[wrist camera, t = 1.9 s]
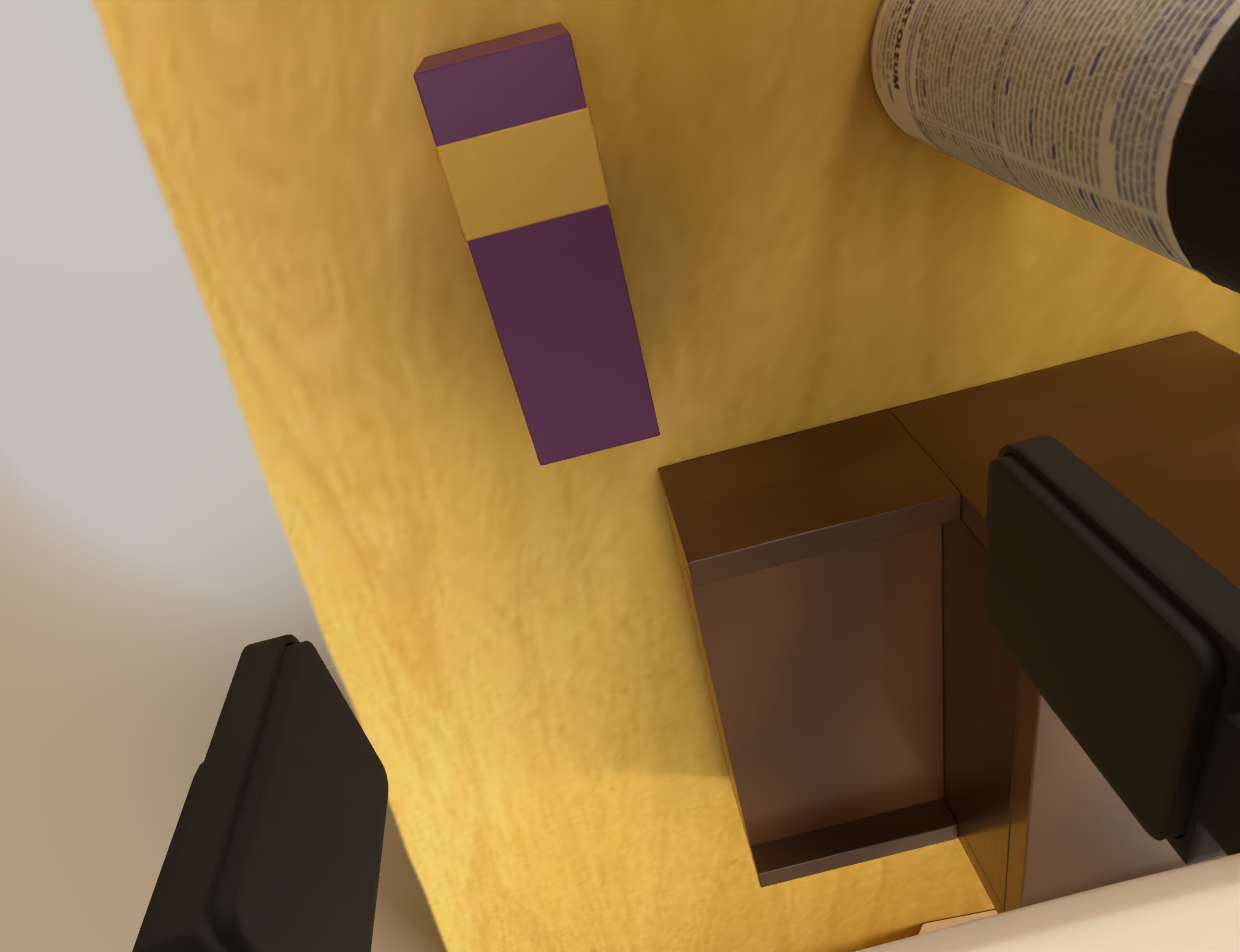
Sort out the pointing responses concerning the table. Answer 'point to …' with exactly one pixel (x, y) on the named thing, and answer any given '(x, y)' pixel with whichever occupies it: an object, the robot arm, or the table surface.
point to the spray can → (1083, 109)
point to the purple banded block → (541, 236)
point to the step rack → (932, 619)
